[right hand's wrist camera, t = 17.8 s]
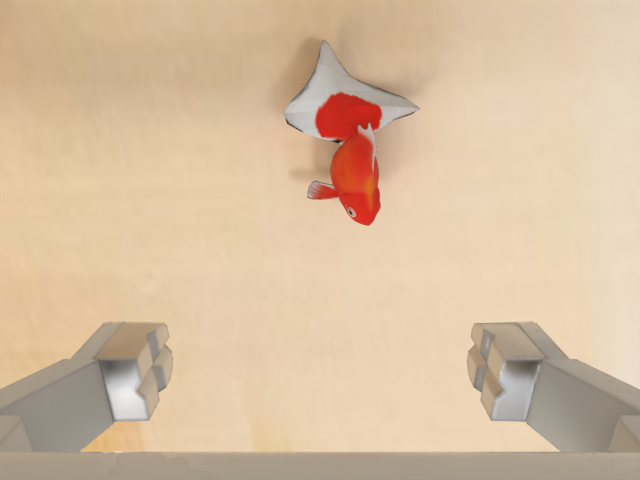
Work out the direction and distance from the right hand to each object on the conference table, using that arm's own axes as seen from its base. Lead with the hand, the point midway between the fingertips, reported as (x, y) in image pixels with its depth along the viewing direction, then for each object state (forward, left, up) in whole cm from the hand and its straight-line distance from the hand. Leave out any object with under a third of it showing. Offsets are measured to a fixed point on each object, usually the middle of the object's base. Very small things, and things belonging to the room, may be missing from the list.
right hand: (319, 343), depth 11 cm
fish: (+3, +1, -31) cm, 31 cm away
